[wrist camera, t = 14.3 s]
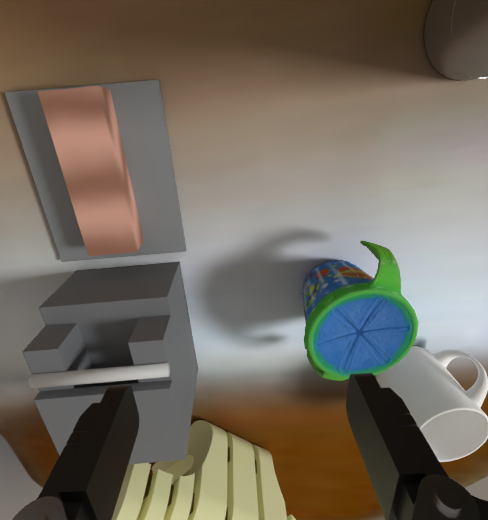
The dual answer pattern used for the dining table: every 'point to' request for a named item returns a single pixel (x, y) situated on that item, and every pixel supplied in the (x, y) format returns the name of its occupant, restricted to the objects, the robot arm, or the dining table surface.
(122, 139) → the mat
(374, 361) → the snack cup
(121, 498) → the slatted curved stool
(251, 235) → the dining table surface
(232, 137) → the dining table surface
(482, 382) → the mug
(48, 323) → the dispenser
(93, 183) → the copper bar
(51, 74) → the dining table surface
